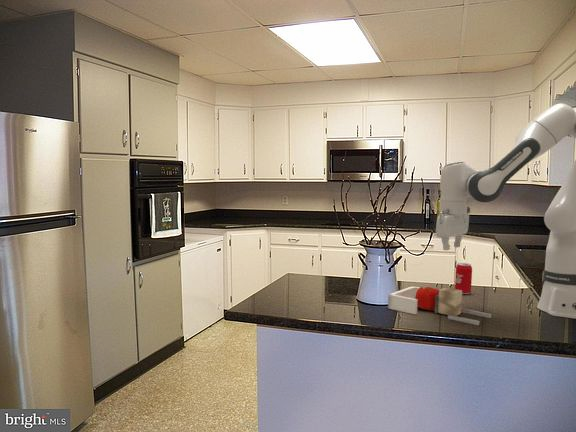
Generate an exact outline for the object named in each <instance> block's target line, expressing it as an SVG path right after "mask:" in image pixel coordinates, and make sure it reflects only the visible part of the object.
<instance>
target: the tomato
mask: <svg viewBox="0 0 576 432" xmlns="http://www.w3.org/2000/svg"><path fill="white" fill-rule="evenodd" d="M439 290H440V289H438V288H434V287H431V286H426V287H422V286H420V288H419V289H418V290H417V293H416V297H415V299H418V301H417V308H420V309H422V310H426V311H430V312H433V311H435V296H436V295H438V294H439Z"/></svg>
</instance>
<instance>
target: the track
mask: <svg viewBox="0 0 576 432" xmlns="http://www.w3.org/2000/svg"><path fill="white" fill-rule="evenodd" d="M461 313H464V314H469V315H473V316H478V317H482V318H487V319H491V318H492V313H487V312H483V311H477V310H474V309H473V310H472V309H468V308H462V307H461ZM447 319H448V320H452V321H456V322H460V323H464V324H465V323H466V324H471V325H474V326H480V323H481V322H480V320H478V319H477V320H476V319H473V318H472V319H471V318H467V317H461V316H458V315H457V316H453V315H447Z"/></svg>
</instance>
